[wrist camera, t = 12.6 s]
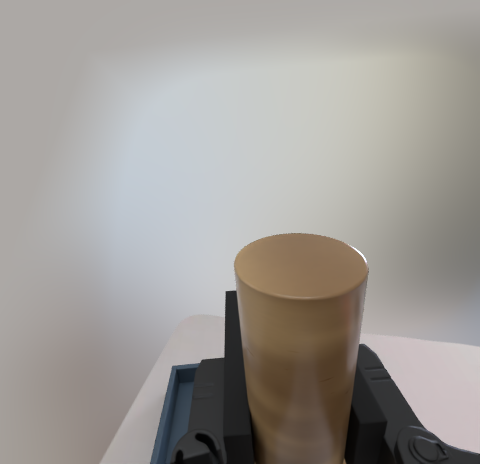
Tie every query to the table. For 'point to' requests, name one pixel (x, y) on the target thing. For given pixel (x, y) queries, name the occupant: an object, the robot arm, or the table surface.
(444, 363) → the table surface
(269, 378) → the wooden stamp
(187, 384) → the tray
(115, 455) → the table surface
